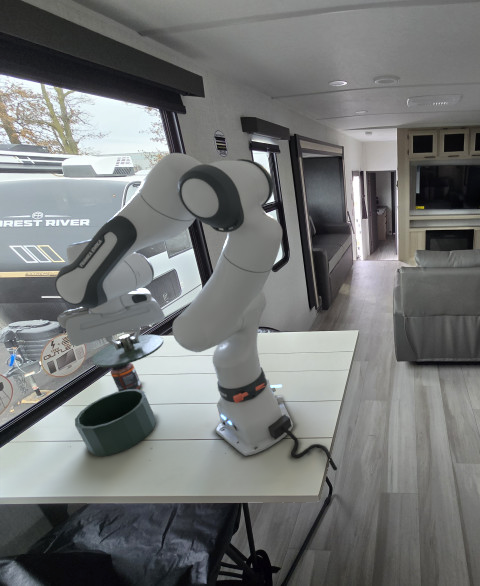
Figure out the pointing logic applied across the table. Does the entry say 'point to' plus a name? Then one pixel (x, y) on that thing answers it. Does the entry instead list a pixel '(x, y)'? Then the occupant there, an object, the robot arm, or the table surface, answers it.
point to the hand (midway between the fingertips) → (128, 345)
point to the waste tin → (115, 422)
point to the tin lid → (127, 351)
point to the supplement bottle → (125, 377)
